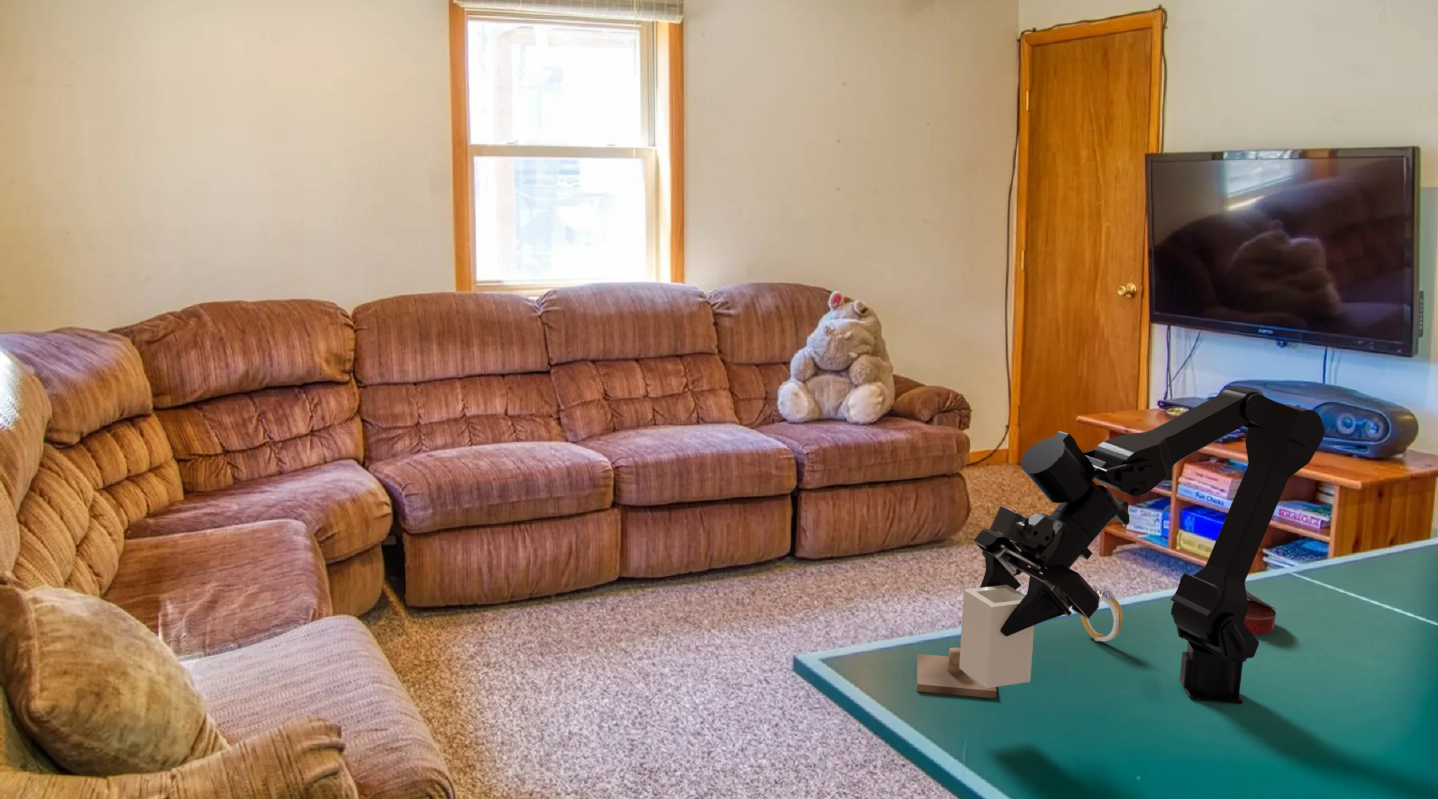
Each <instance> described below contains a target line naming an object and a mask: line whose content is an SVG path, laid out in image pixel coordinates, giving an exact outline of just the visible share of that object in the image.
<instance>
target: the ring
mask: <svg viewBox="0 0 1438 799" xmlns="http://www.w3.org/2000/svg"><path fill="white" fill-rule="evenodd" d="M1094 591H1095V592H1096V593H1097V594H1098V595H1099V596H1100V599H1099V600H1101V601H1102V602H1104V603H1106V605H1107V606H1108V607H1109V608H1110V610H1111V613H1112V618H1113V625H1112V629H1111V630H1110V632H1109V634H1108V635H1104V634H1103V633H1100V632H1097V631H1096V630H1095V629H1094V628H1093V627H1092V625H1091V622H1090V618H1089V619H1087V618H1085V617H1083V616H1081V615H1080V614H1079V617H1080V621H1081V624H1082V625H1083V628H1084V630H1085V631H1086V632H1087V634H1088V635H1090V636H1091V638H1093V640H1094V641H1095V642H1108V641H1111V640H1114V639H1115V638H1116V637H1117V636H1118V635H1119V633H1120V631H1121V629H1122V624H1123V620H1124V618H1123V617H1124V616H1123V615H1124V614H1123V610H1122V607H1121V604H1120V603H1119V601H1118V600H1117V598H1116V597H1115V594H1114V593H1113V591H1111V589H1110V588H1107V586H1103V588H1100V587H1099V588H1098V586H1094Z"/></svg>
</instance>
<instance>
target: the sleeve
mask: <svg viewBox="0 0 1438 799" xmlns="http://www.w3.org/2000/svg"><path fill="white" fill-rule="evenodd" d="M1025 595H1026V594H1023V593H1022V592H1021V591H1018V589H1016V590H1015V589H1013V588H1012V587H1010V586H1008V585H1000V586H991V587H983V588H980V587H977V588H976V587H975V588H966V589H964V590H963V598H962V600H963V601H962V616H961V630H960V631H961V632H960V633H961V634H960V636H961V637H960V647H959V648H960V663H959V668H960V669H961V670H963V671H964V672H965V673H967V674H968V675H969V676H971V677H972V678H973V679H975V680H976V681H977V682H979V683H980V684H981V685H983V686H984V687H985V688H992V687H996V688H998V687H1004V686H1010V685H1018V684H1024V683H1031V675H1032V673H1031V672H1032V661H1033V660H1032V659H1033V646H1034V634H1035V625H1033V626H1031V627H1029V628H1026V629H1024V630H1021V631H1019V632H1017V633H1014V634H1012V635H1009V636H1004V635H1003V634H1002V633H1001V632H1000V629H1001V628H1002V626H1003V625H1004V623H1005V621H1006V620H1007V619H1008V617H1009V616H1010V615H1011V613H1012V612H1013V611H1014V610H1015V608H1016V607H1017V606H1018V604H1019V603H1020V602H1021V601H1022V599H1023V598H1024V597H1025Z"/></svg>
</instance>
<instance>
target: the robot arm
mask: <svg viewBox="0 0 1438 799" xmlns="http://www.w3.org/2000/svg"><path fill="white" fill-rule="evenodd" d="M1242 427H1243V428H1244V429H1247V432H1246V435H1245V439H1244V445H1245V450H1246V456H1247V466H1246V469H1245V472H1244V474H1243V475H1242V478H1241V481H1240V482H1239V486H1238V488H1237V490H1236V493H1235V495H1234V497H1233V499H1232V502H1231V504H1230V507H1229V509H1228V511H1227V514H1226V515H1225V516H1226V517H1225V519H1224V522H1222V526H1221V528H1220V531H1219V533H1218V536H1217V538H1216V540H1215V543H1214V545H1213V548H1212V549H1211V551H1210V554H1209V557H1208V559H1207V562H1206V563H1205V565H1204V566H1203V567H1202V568H1200V569H1199V570H1198V571H1197V572H1196V573H1194V574H1193V575H1192V574H1190V573H1188V572H1184V573H1183V574H1182V575H1181V576H1180V579H1179V584H1178V587H1177V589H1176V591H1175V593H1174V594H1173V595H1172V596H1171V598H1170V601H1171V602H1172V606H1171V610H1170V611H1171V612H1170V615H1171V616H1172V618H1173V622H1174V624H1175V625H1176V630H1177V631H1176V632H1177V634H1178V637H1179V638H1180V639H1182V640H1183V639H1184V640H1186V641H1187V647H1186V651H1183V652H1182V654H1181V661H1180V662H1181V663H1180V671H1179V672H1180V674H1179V682H1180V684H1181V685H1182V688H1183V689H1184V690H1185V691H1186V693H1187V695H1188V697H1189V698H1190V699H1192V700H1198V701H1207V702H1208V701H1211V702H1219V703H1220V702H1221V703H1231V704H1233V703H1234V704H1243V703H1244V698H1243V696H1242V695H1241V693H1240V692H1241V683H1242V675H1243V674H1242V673H1243V665H1244V663H1245V662H1246V661H1247V659H1253V658H1254V657H1255V655H1256V652H1257V650H1258V648H1259V645H1260V642H1259V640H1258V639H1257V638H1256V637H1255V635H1254V634H1252V633H1251V632H1250V631H1249V629H1248V628H1247V627H1246V626H1245V625H1244V621H1245V617H1246V614H1247V610H1248V601H1247V600H1248V599H1247V594H1246V591H1247V588H1246V581H1247V577H1248V575H1249V573H1250V570H1251V568H1252V565H1253V563H1254V561H1255V558H1256V556H1257V553H1258V551H1259V549H1260V547H1261V544H1262V543H1263V540H1264V538H1265V535H1266V533H1267V530H1268V528H1269V525H1270V523H1271V521H1272V519H1273V516H1274V514H1275V511H1276V509H1277V506H1278V505H1279V501H1280V499H1281V498H1282V494H1283V493H1284V490H1285V487H1286V485H1287V483H1288V481H1289V480H1290V478H1291V477H1293V475H1295V474H1296V473H1297V472H1299V471H1300V470H1302V469H1303V468H1304V467H1306V466H1307V465H1308V464H1310V462H1311V461H1312V459H1313V457H1314V455H1315V453H1316V452H1317V450H1318V449H1319V447H1320V445H1321V444H1322V442H1323V439H1324V438H1325V437H1324V436H1325V432H1326V428H1325V426H1324V425H1323V420H1322V418H1321V416H1320V415H1319V413H1318V412H1317V411H1315V410H1313V409H1308V408H1303V407H1299V406H1296V405H1290V404H1286V403H1282V402H1279V401H1275V400H1273V399H1271V398H1269V397H1267V396H1265V395H1263V394H1261V393H1260V392H1259V391H1256V390H1251V389H1247V388H1242V387H1238V386H1230V387H1225V388H1223V389H1221V391H1219V393H1218V394H1217V395H1216V396H1214V397H1211V398H1210V399H1207V400H1206V401H1204V402H1202V403H1201V404H1199V405H1198V404H1197V406H1195V407H1193V408H1191V409H1189V410H1188V411H1185V412H1183V413H1182V414H1180V415H1177V416H1175V417H1174V418H1172V419H1170V420H1168V421H1166V422H1164V423H1163V424H1161V425H1159V426H1158V427H1155V428H1153V429H1150V430H1146V431H1143V432H1134V433H1126V434H1121V435H1119V436H1116V437H1113V438H1109V439H1106V440H1104V441H1102V442H1101V443H1099V444H1098V445H1096V447H1095V448H1094V449H1089V450H1085V451H1083V450H1082V449H1081V448H1080V447H1079V445H1078V444H1077V441H1076V440H1075V438H1074V437H1073V436H1072V435H1071V434H1070V433H1067V432H1065V431H1062V430H1059V431H1057V433H1055V435H1054V436H1051V437H1047V438H1045V439H1041V440H1040V441H1038V442H1036V443H1035V444H1033V445H1031V446H1029V447H1028V448H1027V449H1026V451H1025V452H1024V453H1023V455H1022V457H1021V460H1020V466H1021V467H1020V468H1021V470H1022V471H1023V472H1024V473H1025V474H1026V475H1027V477H1028V478H1029V479H1030V480H1031V481H1032V482H1033V483H1034V485H1035V486H1036V487H1037V488H1038V489H1039V490H1040V492H1041V493H1042V494H1043V495H1044V496H1045V498H1046V499H1047V500H1048V501H1049V502H1051V503H1053V504H1058V506H1057V507H1055V509H1054V510H1053V511H1052V512H1051V513H1050V515H1049V514H1046V513H1044V512H1041V513H1037V512H1035V513H1034V514H1032V515H1031V516H1030V517H1027V516H1026V515H1023V514H1021V513H1018V512H1016V511H1014V510H1012V509H1009V508H1007V507H1005V506H1003V505H999V508H998V510H997V511H996V515H995V517H994V519H993V521H992V523H991V525H990V527H989V528H985V529H984V528H983V529H982V530H981V531H980V532H979V533H978V534H977V535H976V537H975V538H974V539H973V543H974V544H975V545H976V547H978V549H979V550H980V551H982V552H981V555H982V557H983V558H984V562H985V572H984V576H983V579H982V581H981V583H980V586H979V588H983V587H991V586H1000V585H1008V586H1010V587H1012V588H1013V589H1015V590H1018V588H1020V587H1021V586H1022V584H1021V582H1020V581H1018V579H1016V576H1018V575H1021V574H1022V573H1024V574H1025V575H1027V576H1029V578H1028V584H1027V585H1028V587H1027V593H1025V594H1024V595H1025V597H1024V598H1023V599H1022V601H1021V602H1020V603H1019V604H1018V606H1017V607H1016V608H1015V610H1014V611H1013V612H1012V613H1011V615H1010V616H1009V617H1008V619H1007V620H1006V621H1005V623H1004V625H1003V626H1002V628H1001V629H1000V632H1001V633H1002V634H1003V635H1004V636H1009V635H1012V634H1014V633H1017V632H1019V631H1021V630H1024V629H1026V628H1029V627H1031V626H1033V625H1034V626H1036V625H1038V624H1040V623H1041V624H1042V623H1044V622H1046V621H1049V620H1053V619H1056V618H1059V617H1061V616H1067V617H1069V616H1071V615H1072V611H1073V612H1074V613H1077V614H1078V615H1079V616H1080V615H1081V616H1083V617H1085V618H1087V619H1089V620H1090V619H1091V617H1092V616H1093V615H1094V614H1095V612H1097V611H1098V609H1099V607H1100V600H1101V599H1100V596H1099V595H1098V594H1097V593H1096V592H1095V589H1094V588H1092V586H1091V585H1090V584H1089V582H1087V580H1086V579H1085V578H1084V577H1083V576H1082V575H1081V574H1080V573H1079V572H1077V571H1075V570H1073V569H1072V568H1071V567H1072V566H1074V564H1075V563H1076V562H1077V561H1078V559H1079V558H1082V559H1085V560H1087V561H1088V560H1089V558H1090V557H1091V556H1092V555H1094V554H1093V552H1092V551H1091V549H1090V548H1089V547H1090V546H1091V544H1092V543H1093V542H1094V541H1095V540H1096V539H1097V538H1098V537H1099V535H1100V534H1101V533H1102V532H1103V530H1105V528H1106V527H1107V526H1108V525H1109V523H1110V522H1111V521H1112V520H1113V521H1115V522H1118V523H1120V524H1123V525H1125V526H1128V525H1129V524H1130V523H1131V522H1130V521H1131V520H1130V513H1129V505H1130V503H1129V502H1128V501H1126V500H1123V499H1121V498H1119V497H1115V496H1114V495H1113V493H1112V492H1111V491H1110V490H1109V488H1112V489H1114V490H1117V491H1118V492H1122V493H1124V494H1127V495H1130V496H1131V497H1132V496H1133V497H1135V498H1136V497H1143V496H1144V495H1147V494H1148V493H1150V492H1152V490H1154V489H1155V488H1156V487H1157V486H1158V485H1160V484H1161V483H1163V482H1164V481H1165V480H1166V479H1167V478H1168V476H1169V475H1170V472H1171V470H1172V468H1173V467H1174V466H1175V465H1176V464H1177V463H1178V462H1180V461H1182V460H1184V459H1185V458H1187V457H1189V456H1192V455H1193V454H1195V453H1196V452H1198V451H1200V450H1202V449H1204V448H1205V447H1207V446H1209V445H1212V444H1213V443H1215V442H1217V441H1218V440H1220V439H1222V438H1224V437H1226V436H1228V435H1230V434H1231V433H1233V432H1235V431H1237V430H1239V429H1241V428H1242ZM1094 480H1095V481H1097V483H1098V484H1097V483H1096V482H1095V481H1094ZM1070 608H1071V610H1070Z"/></svg>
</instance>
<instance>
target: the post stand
mask: <svg viewBox="0 0 1438 799" xmlns="http://www.w3.org/2000/svg"><path fill="white" fill-rule="evenodd" d="M959 663H960V647H955V646H954V647H949V649H948V656H947V655H939V654H938V655H937V654H936V655H935V654H923V653H917V655H916V691H917V692H921V693H932V694H944V695H956V696H964V697H976V698H977V697H978V698H988V699H996V698H997V687H992V688H985V687H984V686H983V685H981V684H980V683H979V682H977V681H976V680H975V679H973V678H972V677H971V676H969V675H968V674H967V673H965V672H964V671H963V670H961V669H960V668H959Z"/></svg>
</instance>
